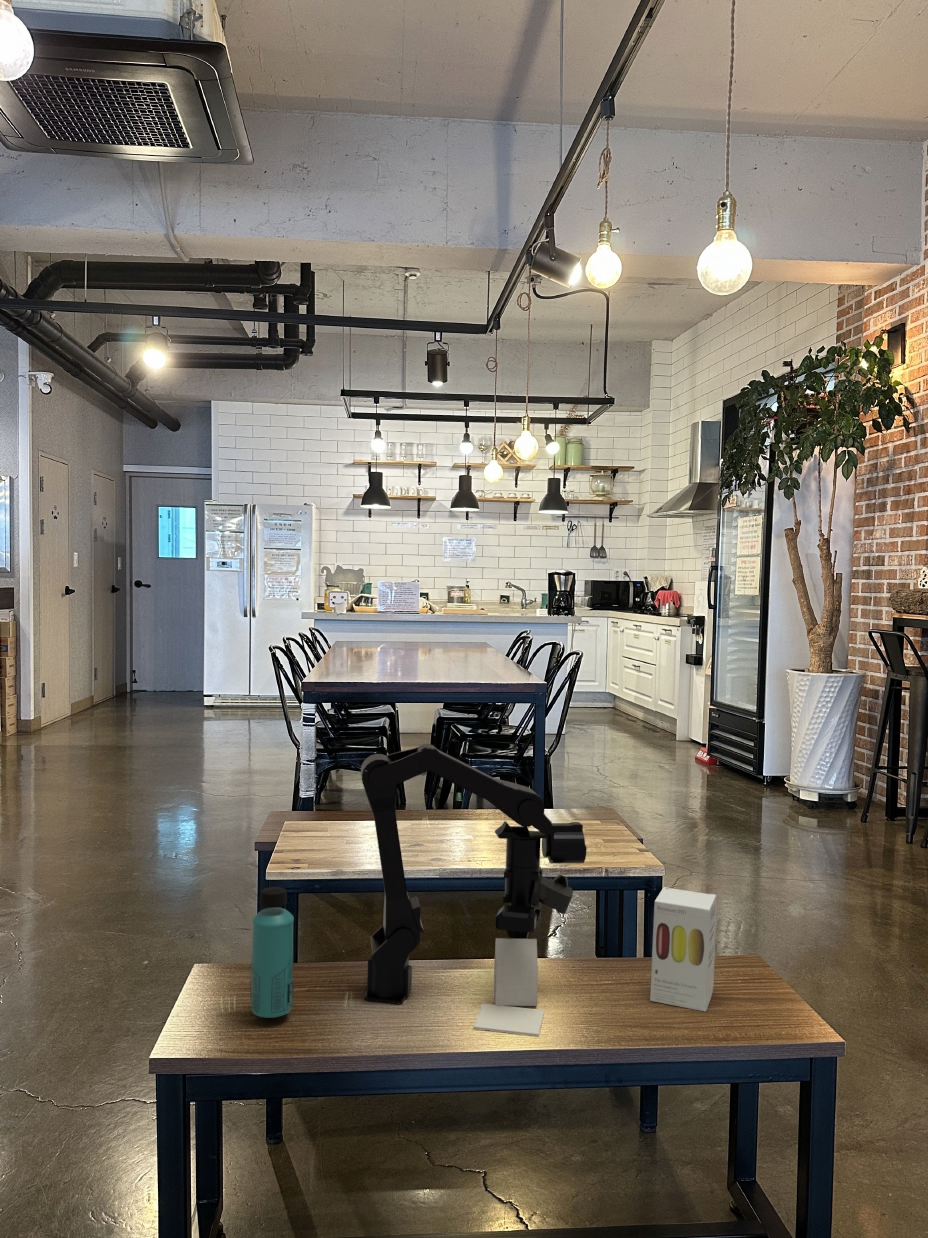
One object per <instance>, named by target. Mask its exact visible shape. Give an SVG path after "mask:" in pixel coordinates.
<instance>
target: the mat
mask: <svg viewBox="0 0 928 1238" xmlns="http://www.w3.org/2000/svg"><path fill="white" fill-rule="evenodd" d="M543 1016H545V1009H544V1010H543V1009H536V1008H535V1009H534V1008H529V1007H527V1008H525V1007H520V1006H519V1007H518V1006H495V1004H490V1003H482V1005H481V1007H480V1009H479V1012H478V1015H477V1017H476V1019H475V1021H474V1024H473V1029H472V1030H476V1029H481V1030H480V1031H485V1030H490V1031H489V1032H496V1033H502V1032H506V1033H505V1034H511V1033H513V1035H520V1034H524V1035H523V1036H528V1035H531V1036H530V1037H537V1036H539V1037H540V1034H539V1033H540V1032H541V1028H542V1025H543V1021H544V1017H543ZM542 1020H543V1021H542ZM541 1024H542V1025H541Z"/></svg>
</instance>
